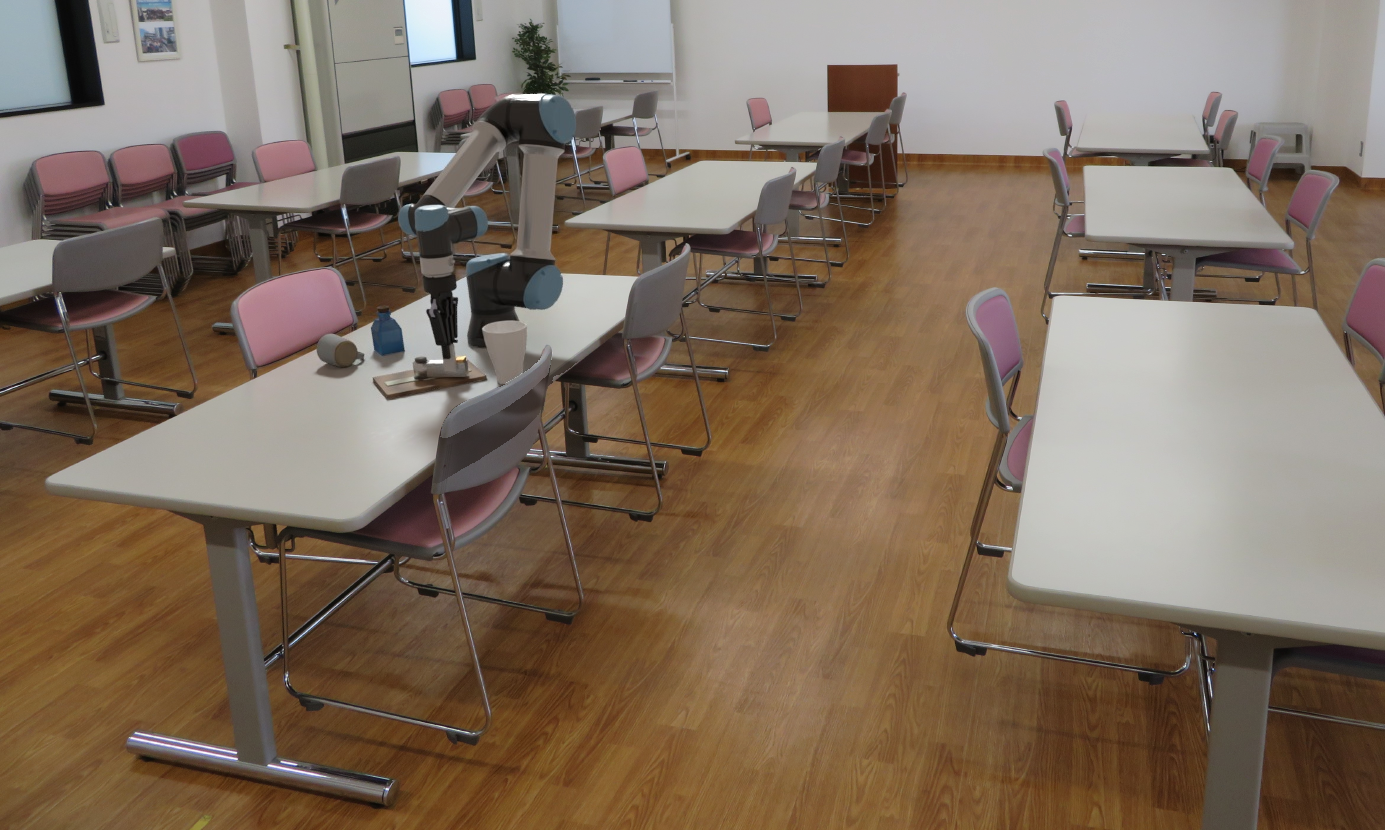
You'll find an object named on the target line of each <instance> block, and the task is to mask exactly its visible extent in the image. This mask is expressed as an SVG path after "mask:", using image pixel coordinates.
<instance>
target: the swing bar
mask: <svg viewBox="0 0 1385 830" xmlns="http://www.w3.org/2000/svg"><path fill="white" fill-rule="evenodd" d="M467 360H468V359H467V356H463V357H462V356H456V365H457V370H456V371H455V372H452V371H444V365H443V359H427V361H425V362H421V363H417V362H415V360H413V362H412V368H413V369H412V370H414V376H415V378H427V377H466V376H467V375H468V374H469V371H468V362H467Z"/></svg>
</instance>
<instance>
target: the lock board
mask: <svg viewBox="0 0 1385 830" xmlns="http://www.w3.org/2000/svg"><path fill="white" fill-rule="evenodd" d="M461 357H464V356H461ZM427 360H428V357H427V356H417V357H415V358H414V361H415V362H417V363H421V362H425V361H427ZM466 360H467V362H468V371H469V374H468V375H467V376H466V377H427V378H415V376H414V369H410V370H405V371H399V372H398V371H397V372H394V373H389V374H384V375H377V376H373V377H372V381H373V383H374V384H375V385H376V387H377V388H378V389H379V390H380V391H381V393H383V395H384V396H385V397H386V398H387V400H388V399H394V398H399V397H405V396H410V395H414V394H419V393H425V392H430V391H436V390H440V389H444V388H450V387H451V388H452V387H456V386H460V385H466V384H470V383H476V382H481V381H486V380H488V376H487V374H485V373H484V372H483V371H482V370H481V369H480V368H479V367H477V365H475V364H474V363H473V362H471V361H470V360H469V359H466Z"/></svg>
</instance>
